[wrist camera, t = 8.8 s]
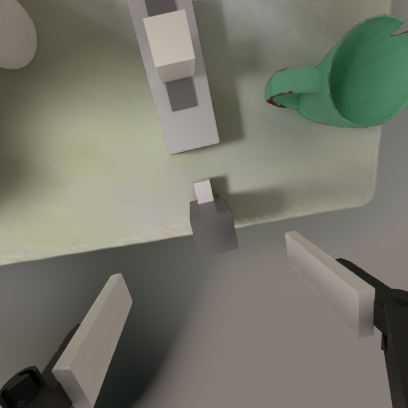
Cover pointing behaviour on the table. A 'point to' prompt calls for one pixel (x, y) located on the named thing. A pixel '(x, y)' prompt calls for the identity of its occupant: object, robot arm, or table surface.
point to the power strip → (177, 84)
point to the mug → (350, 78)
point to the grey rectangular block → (211, 221)
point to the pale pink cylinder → (16, 35)
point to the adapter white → (171, 45)
